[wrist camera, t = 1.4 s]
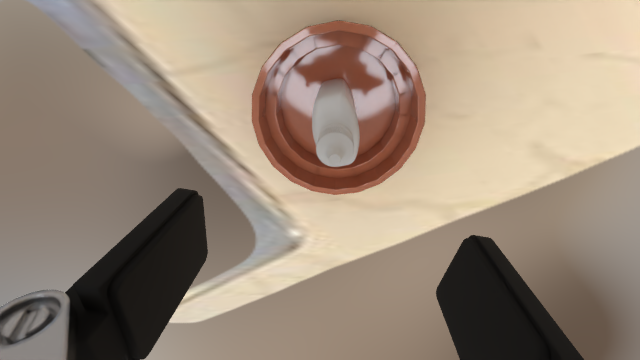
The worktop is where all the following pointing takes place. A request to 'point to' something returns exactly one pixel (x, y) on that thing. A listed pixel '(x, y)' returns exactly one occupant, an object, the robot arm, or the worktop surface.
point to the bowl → (368, 94)
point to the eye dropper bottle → (335, 124)
